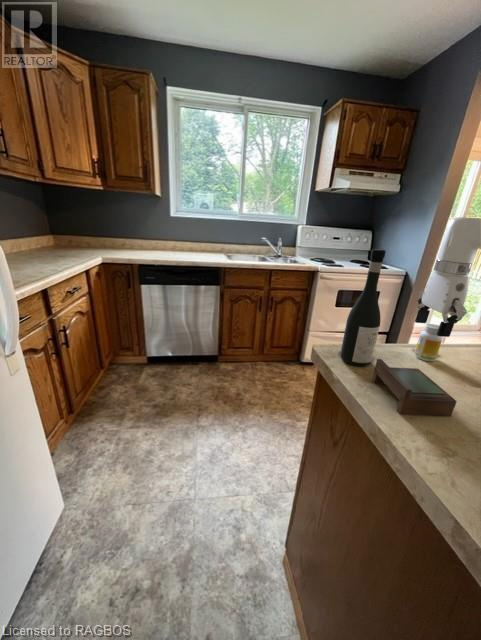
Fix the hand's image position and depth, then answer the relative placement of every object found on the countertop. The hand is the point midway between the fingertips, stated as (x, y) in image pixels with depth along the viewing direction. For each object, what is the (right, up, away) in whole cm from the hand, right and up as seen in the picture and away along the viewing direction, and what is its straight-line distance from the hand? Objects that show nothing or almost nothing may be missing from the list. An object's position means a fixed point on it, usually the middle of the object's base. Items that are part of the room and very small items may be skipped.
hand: (430, 329), depth 76 cm
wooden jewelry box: (-18, -15, -18) cm, 30 cm away
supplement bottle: (0, -9, +3) cm, 9 cm away
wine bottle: (-22, -9, -1) cm, 24 cm away
